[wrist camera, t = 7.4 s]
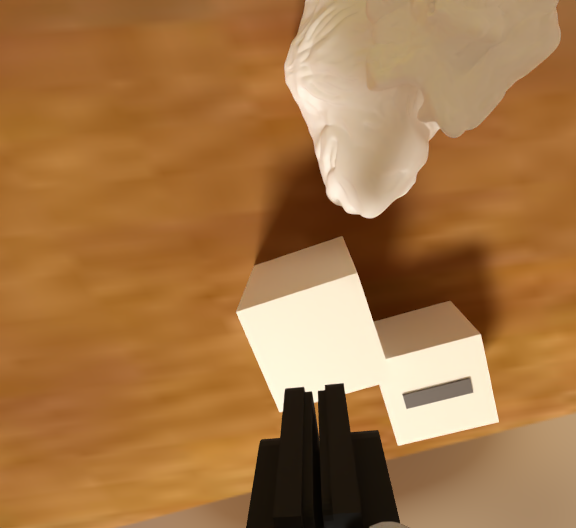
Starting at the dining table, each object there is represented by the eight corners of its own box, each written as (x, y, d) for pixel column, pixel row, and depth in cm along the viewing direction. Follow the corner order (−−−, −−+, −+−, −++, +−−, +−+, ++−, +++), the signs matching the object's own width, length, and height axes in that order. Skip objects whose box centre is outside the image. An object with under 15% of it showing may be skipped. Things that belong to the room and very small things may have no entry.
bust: (362, 196, 22) (606, 219, 13) (245, 219, 18) (484, 274, 9) (358, -60, 19) (691, -262, 10) (211, -104, 14) (552, -523, 6)
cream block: (342, 235, 21) (357, 272, 15) (369, 317, 22) (392, 380, 16) (254, 265, 21) (236, 311, 16) (285, 343, 23) (279, 412, 17)
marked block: (451, 298, 22) (484, 334, 18) (468, 374, 23) (501, 422, 19) (360, 324, 22) (373, 363, 18) (382, 396, 24) (398, 447, 20)
